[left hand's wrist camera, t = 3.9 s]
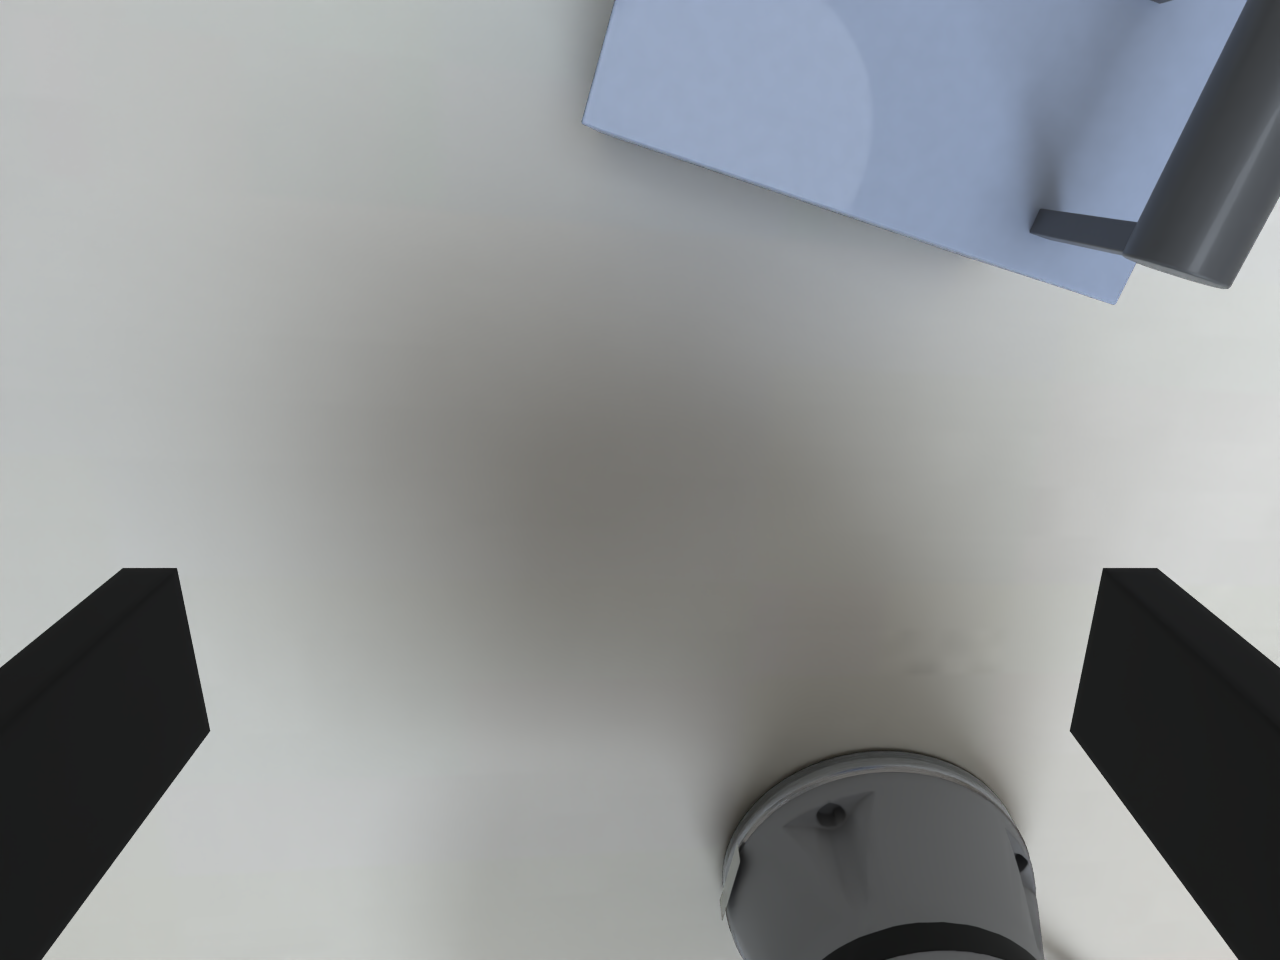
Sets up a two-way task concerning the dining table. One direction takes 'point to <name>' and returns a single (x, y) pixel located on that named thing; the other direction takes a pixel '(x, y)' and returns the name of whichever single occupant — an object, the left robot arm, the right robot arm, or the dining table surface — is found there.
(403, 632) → the dining table surface
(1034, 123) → the lid
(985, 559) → the dining table surface
